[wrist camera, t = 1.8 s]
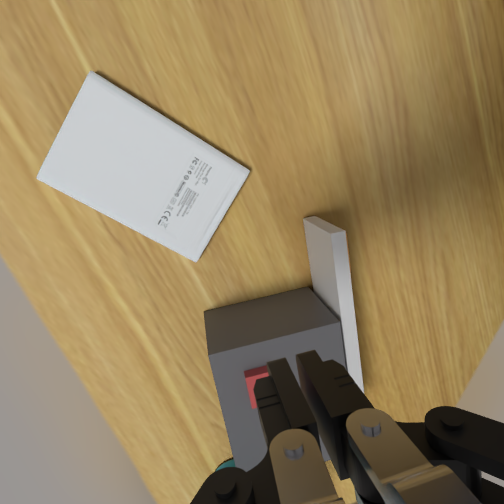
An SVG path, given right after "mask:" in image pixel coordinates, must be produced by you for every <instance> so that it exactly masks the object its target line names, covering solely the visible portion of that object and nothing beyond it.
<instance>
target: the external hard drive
mask: <svg viewBox="0 0 504 504" xmlns="http://www.w3.org/2000/svg"><path fill="white" fill-rule="evenodd" d="M249 172H250V170H248V169H247V168H245V167H244V166H242V165H240V164H239V163H237V162H236V161H234V160H233V159H231V158H229V157H228V156H226V155H225V154H223V153H221V152H220V151H218V150H217V149H215V148H214V147H212V146H211V145H209V144H207V143H206V142H204V141H203V140H201V139H200V138H198V137H196V136H195V135H193V134H192V133H190V132H189V131H187V130H185V129H184V128H182V127H181V126H179V125H177V124H176V123H174V122H173V121H171V120H169V119H168V118H166V117H165V116H163V115H162V114H160V113H158V112H157V111H155V110H154V109H152V108H151V107H149V106H147V105H146V104H144V103H143V102H141V101H139V100H138V99H136V98H135V97H133V96H132V95H130V94H128V93H127V92H125V91H124V90H122V89H120V88H119V87H117V86H115V85H114V84H112V83H111V82H109V81H108V80H106V79H104V78H103V77H101V76H100V75H98V74H96V73H95V72H93V71H90V72H89V74H88V75H87V77H86V79H85V81H84V83H83V85H82V87H81V89H80V91H79V93H78V95H77V97H76V99H75V101H74V103H73V105H72V107H71V109H70V111H69V113H68V115H67V117H66V119H65V121H64V123H63V125H62V127H61V129H60V131H59V133H58V134H57V136H56V138H55V141H54V142H53V144H52V147H51V148H50V150H49V152H48V155H47V156H46V158H45V160H44V162H43V164H42V166H41V168H40V171H39V173H38V175H37V177H36V178H37V179H38V180H40V181H42V182H44V183H46V184H47V185H49V186H51V187H53V188H55V189H57V190H59V191H61V192H62V193H64V194H66V195H68V196H70V197H72V198H74V199H76V200H78V201H80V202H82V203H83V204H85V205H87V206H89V207H91V208H93V209H95V210H97V211H99V212H101V213H103V214H104V215H106V216H108V217H110V218H112V219H114V220H116V221H118V222H120V223H122V224H124V225H125V226H127V227H129V228H131V229H133V230H135V231H137V232H139V233H141V234H143V235H144V236H146V237H148V238H150V239H152V240H154V241H156V242H158V243H160V244H162V245H163V246H165V247H167V248H169V249H171V250H173V251H175V252H177V253H179V254H181V255H183V256H184V257H186V258H188V259H190V260H192V261H194V262H197V261H198V259H199V258H200V256H201V254H202V253H203V251H204V249H205V247H206V246H207V244H208V242H209V240H210V239H211V237H212V235H213V234H214V232H215V230H216V229H217V227H218V225H219V223H220V222H221V220H222V219H223V217H224V215H225V213H226V212H227V210H228V208H229V207H230V205H231V203H232V202H233V200H234V198H235V197H236V195H237V193H238V191H239V190H240V188H241V186H242V185H243V183H244V181H245V180H246V178H247V176H248V174H249Z"/></svg>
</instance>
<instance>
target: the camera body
mask: <svg viewBox="0 0 504 504" xmlns="http://www.w3.org/2000/svg"><path fill="white" fill-rule="evenodd" d="M204 320H205V329H206V339H207V348H208V356H209V360H210V364H211V368H212V373H213V377H214V381H215V385H216V389H217V393H218V397H219V401H220V405H221V409H222V413H223V417H224V421H225V425H226V429H227V433H228V438H229V442H230V446H231V450H232V454H233V458H234V462H235V466H236V467H238V468H240V469H243V470H244V471H246V472H247V471H249V470H251V469H252V468H254V467H255V466H256V465H258V464H259V463H260V462H261V461H262V460H263V458H264V457H265V455H266V453H267V450H268V449H267V445H266V442H265V438H264V434H263V431H262V427H261V423H260V419H259V414H258V409H257V405H256V400H255V395H254V391H253V389H254V385H255V382H256V379H260V378H263V377H267V376H269V375H268V370H267V364H266V362H269V361H273V360H277V359H280V358H284V357H285V358H286V359H287V361H288V363H289V366H290V368H291V370H292V372H293V374H294V376H295V378H296V380H297V382H298V384H299V386H300V381H299V375H298V369H297V363H296V354H299V353H303V352H307V351H311V350H316V352H317V353H318V355H319V356H320V358H321V359H322V361H323V362H324V361H327V360H331V359H333V360H334V361H336V362H338V363H340V364H341V365H343V366H344V367H345V369H346V365H345V357H344V349H343V341H342V334H341V326H340V321H339V320H338V319H337V318H336V317H335V316H334V315H333V314H332V313H331V312H330V310H329V309H328V308H327V307H326V306H325V305H324V304H323V303H322V302H321V300H320V299H319V298H318V297H317V296H316V295H315V294H314V293H313V292H312V291H311V289H310V288H309V287H304V288H300V289H296V290H292V291H287V292H283V293H279V294H275V295H271V296H267V297H262V298H258V299H254V300H250V301H246V302H242V303H237V304H233V305H229V306H225V307H221V308H217V309H212V310H208V311H204ZM300 388H301V387H300ZM319 439H320V445H321V451H322V456H323V459H324V462H325V461H328V460H331V459H330V457H329V454H328V452H327V450H326V448H325V446H324V444H323V442H322V440H321V437H320V435H319Z"/></svg>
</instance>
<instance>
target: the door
mask: <svg viewBox="0 0 504 504" xmlns="http://www.w3.org/2000/svg"><path fill="white" fill-rule="evenodd" d="M303 222H304V229H305V236H306V243H307V249H308V256H309V263H310V270H311V277H312V283H313V290H314V294H315V295H316V296H317V297H318V298H319V299H320V300H321V302H322V303H323V304H324V305H325V306H326V307H327V308H328V309H329V310H330V312H331V313H332V314H333V315H334V316H335V317H336V318H337V319H338V320H339V321H340V326H341V334H342V341H343V349H344V357H345V365H346V370H347V371H348V373H349V374H350V376H351V377H352V378H353V380H354V381H355V383H356V384H357V385H358V386H359V388H360V389H361V391H362V392H363V393H364V388H363V379H362V371H361V362H360V353H359V345H358V336H357V327H356V319H355V310H354V301H353V293H352V284H351V275H350V273H351V265H350V256H349V247H348V239H347V232H346V231H345V230H343V229H341V228H339V227H337V226H335V225H333V224H331V223H329V222H327V221H324V220H322V219H320V218H318V217H316V216H312V217H307V218H303Z"/></svg>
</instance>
